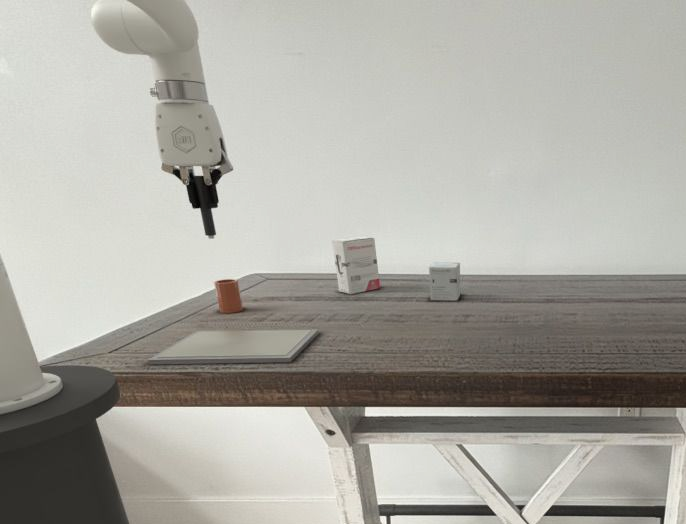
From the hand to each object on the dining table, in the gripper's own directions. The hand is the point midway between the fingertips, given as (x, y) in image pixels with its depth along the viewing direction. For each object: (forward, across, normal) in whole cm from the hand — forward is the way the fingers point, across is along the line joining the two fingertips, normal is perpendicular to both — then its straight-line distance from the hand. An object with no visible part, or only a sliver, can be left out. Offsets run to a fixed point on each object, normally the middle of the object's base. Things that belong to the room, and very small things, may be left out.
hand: (205, 207), depth 102 cm
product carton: (+20, +42, +13) cm, 49 cm away
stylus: (+6, 0, 0) cm, 6 cm away
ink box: (+20, +22, +22) cm, 37 cm away
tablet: (+21, +11, -21) cm, 32 cm away
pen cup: (+20, -1, +4) cm, 21 cm away
